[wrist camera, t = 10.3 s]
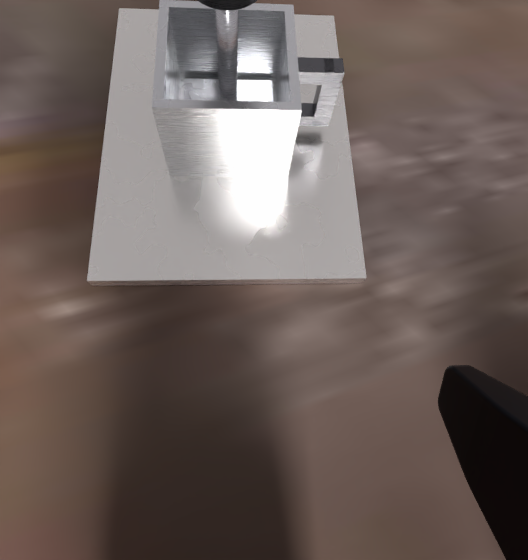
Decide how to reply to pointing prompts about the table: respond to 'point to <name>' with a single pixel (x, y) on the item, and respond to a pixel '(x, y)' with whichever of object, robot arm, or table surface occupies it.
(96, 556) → the table surface
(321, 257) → the white socket holder tray
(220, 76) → the plunger
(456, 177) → the table surface
